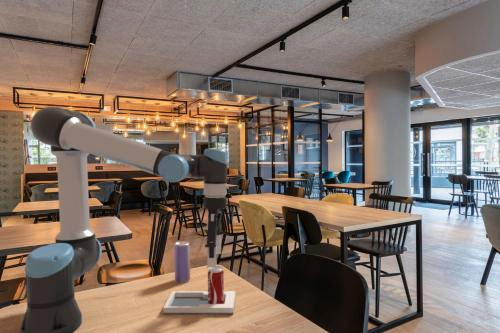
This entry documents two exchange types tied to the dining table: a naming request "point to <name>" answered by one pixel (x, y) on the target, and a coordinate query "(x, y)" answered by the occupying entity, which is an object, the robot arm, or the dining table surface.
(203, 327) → the dining table surface
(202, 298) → the keyhole board
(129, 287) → the dining table surface
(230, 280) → the dining table surface
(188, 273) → the beverage can
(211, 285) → the soda can
